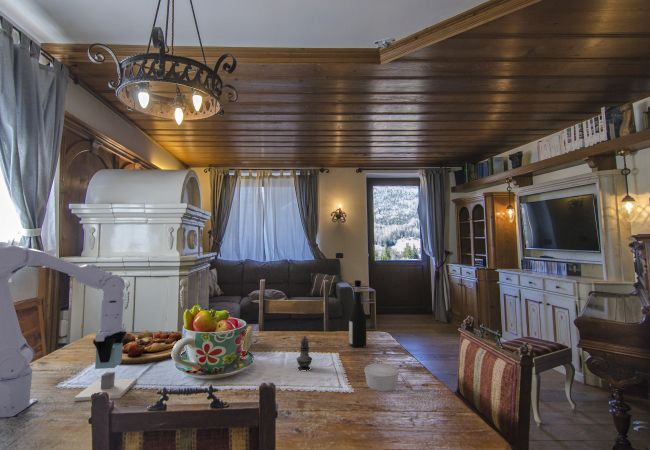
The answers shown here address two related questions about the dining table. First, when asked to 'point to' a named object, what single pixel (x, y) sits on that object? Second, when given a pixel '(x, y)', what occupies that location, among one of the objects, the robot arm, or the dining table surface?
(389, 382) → the ramekin
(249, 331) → the candy box
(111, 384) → the post stand
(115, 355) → the pale blue cube
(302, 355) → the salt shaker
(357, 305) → the wine bottle
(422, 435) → the dining table surface
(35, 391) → the dining table surface
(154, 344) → the wooden plate with food
